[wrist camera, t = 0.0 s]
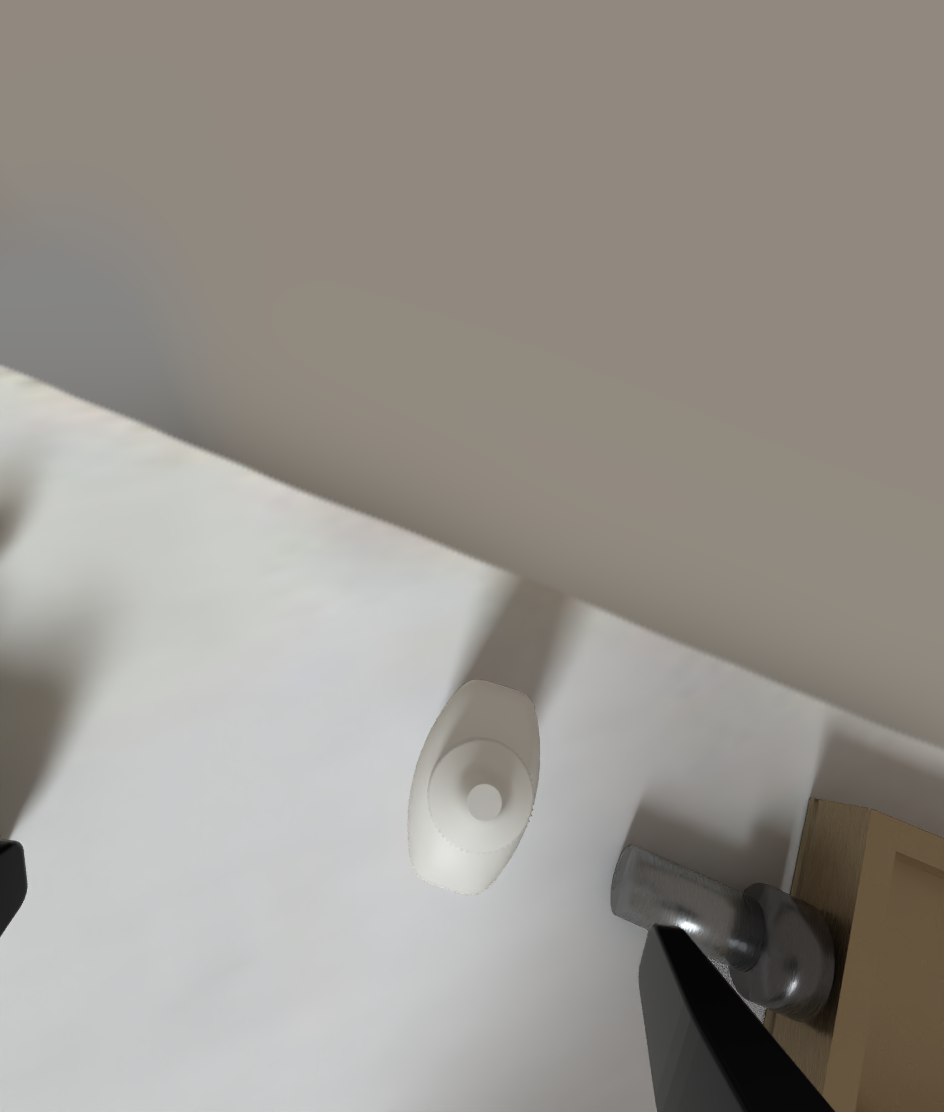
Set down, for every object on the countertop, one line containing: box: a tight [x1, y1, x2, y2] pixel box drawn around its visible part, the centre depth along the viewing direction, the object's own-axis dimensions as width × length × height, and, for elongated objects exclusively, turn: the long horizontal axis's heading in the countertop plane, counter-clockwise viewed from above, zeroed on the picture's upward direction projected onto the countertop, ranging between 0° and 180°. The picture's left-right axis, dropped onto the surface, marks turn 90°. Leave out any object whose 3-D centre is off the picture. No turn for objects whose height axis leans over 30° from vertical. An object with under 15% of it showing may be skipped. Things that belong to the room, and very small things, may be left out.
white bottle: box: [408, 680, 540, 895], centre depth 17 cm, size 4×6×12 cm
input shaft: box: [611, 845, 835, 1022], centre depth 20 cm, size 6×4×4 cm, turn 68°
